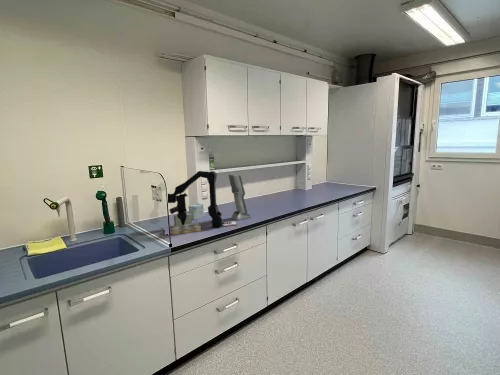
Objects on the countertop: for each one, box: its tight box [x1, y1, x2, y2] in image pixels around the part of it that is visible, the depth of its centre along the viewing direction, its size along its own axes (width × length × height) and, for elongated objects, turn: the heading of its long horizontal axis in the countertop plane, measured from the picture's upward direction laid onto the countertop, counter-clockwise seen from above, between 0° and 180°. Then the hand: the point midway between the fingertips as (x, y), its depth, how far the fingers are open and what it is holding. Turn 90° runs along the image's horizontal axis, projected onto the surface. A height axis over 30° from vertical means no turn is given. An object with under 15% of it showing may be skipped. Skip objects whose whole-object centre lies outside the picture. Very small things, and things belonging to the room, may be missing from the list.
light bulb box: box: [187, 203, 205, 221], centre depth 218 cm, size 11×7×11 cm, turn 141°
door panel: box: [173, 213, 193, 226], centre depth 194 cm, size 12×2×9 cm, turn 104°
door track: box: [169, 222, 202, 235], centre depth 184 cm, size 24×9×4 cm, turn 104°
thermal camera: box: [228, 174, 251, 221], centre depth 210 cm, size 12×13×35 cm
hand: (183, 223), depth 194 cm, fingers open, 9 cm apart
